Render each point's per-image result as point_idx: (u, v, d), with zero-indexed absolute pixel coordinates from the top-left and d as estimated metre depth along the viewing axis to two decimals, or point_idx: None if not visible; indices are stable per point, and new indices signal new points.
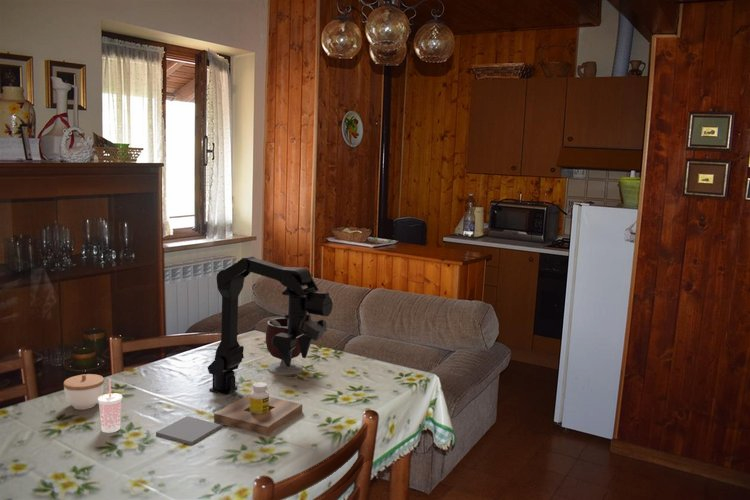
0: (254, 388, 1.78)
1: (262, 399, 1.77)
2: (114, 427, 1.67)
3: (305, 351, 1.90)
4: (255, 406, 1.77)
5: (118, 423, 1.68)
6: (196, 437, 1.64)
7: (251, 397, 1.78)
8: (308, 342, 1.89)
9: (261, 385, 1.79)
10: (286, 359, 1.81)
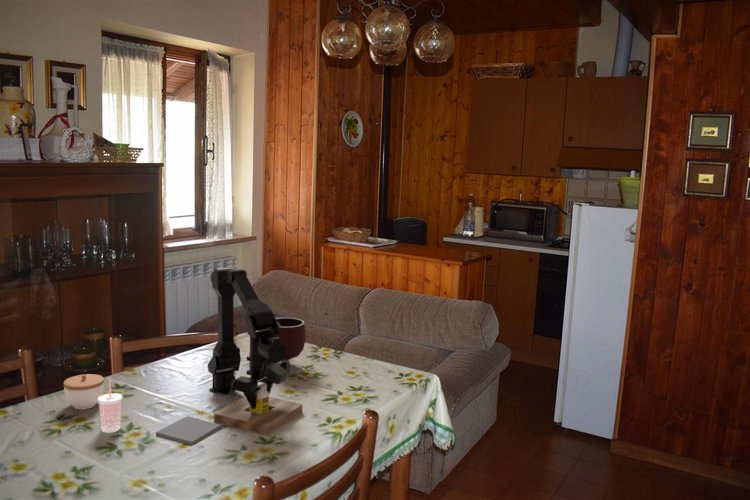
0: None
1: (262, 399, 1.77)
2: (114, 427, 1.67)
3: None
4: None
5: (118, 423, 1.68)
6: (196, 437, 1.64)
7: None
8: (269, 386, 1.82)
9: (261, 385, 1.79)
10: (251, 401, 1.76)
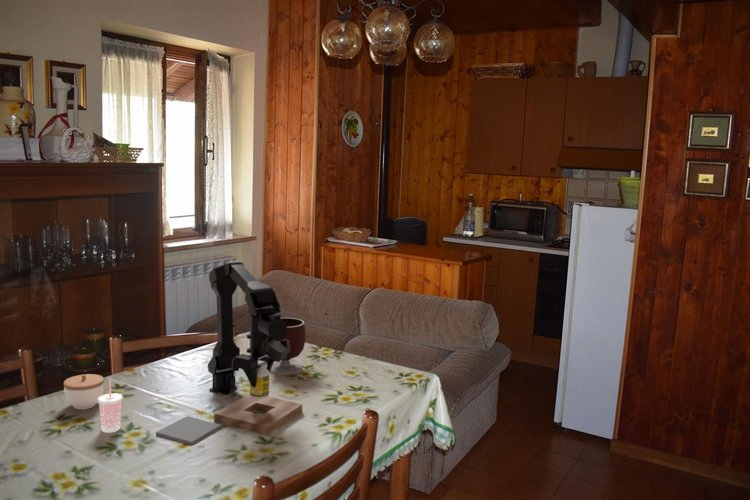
0: None
1: (263, 377, 1.76)
2: (114, 427, 1.67)
3: None
4: None
5: (118, 423, 1.68)
6: (196, 437, 1.64)
7: None
8: (269, 364, 1.81)
9: (261, 363, 1.78)
10: (251, 379, 1.75)
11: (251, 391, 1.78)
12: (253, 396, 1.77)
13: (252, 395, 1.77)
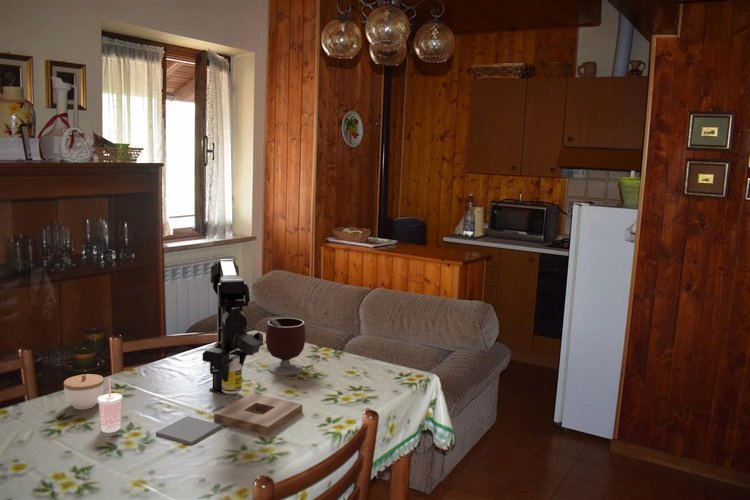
0: None
1: (235, 371, 1.71)
2: (114, 427, 1.67)
3: None
4: None
5: (118, 423, 1.68)
6: (196, 437, 1.64)
7: None
8: (242, 358, 1.76)
9: (233, 357, 1.73)
10: (223, 374, 1.70)
11: (223, 386, 1.73)
12: (225, 391, 1.72)
13: (224, 390, 1.72)
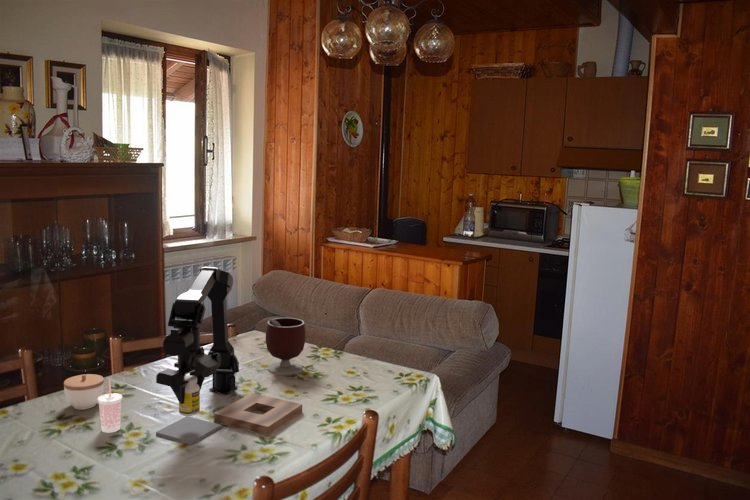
0: None
1: (191, 393, 1.66)
2: (114, 427, 1.67)
3: None
4: None
5: (118, 423, 1.68)
6: (196, 437, 1.64)
7: None
8: (200, 379, 1.70)
9: (190, 378, 1.67)
10: (179, 396, 1.65)
11: (179, 408, 1.67)
12: (182, 413, 1.67)
13: (181, 412, 1.67)
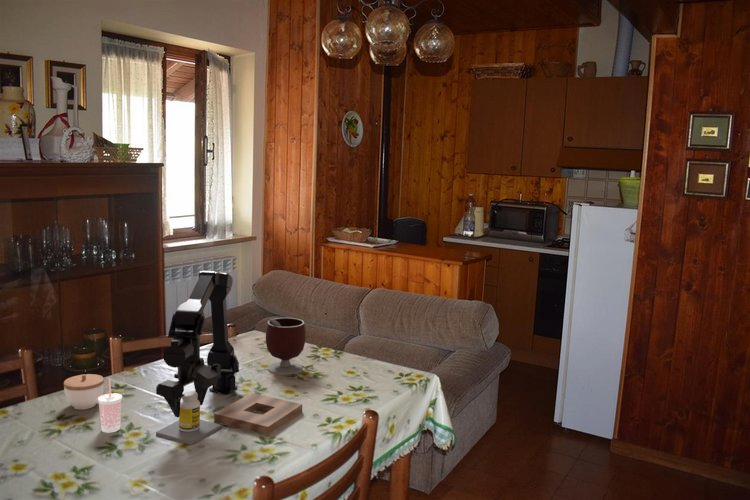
0: (183, 397, 1.67)
1: (192, 409, 1.66)
2: (114, 427, 1.67)
3: (201, 398, 1.72)
4: (184, 417, 1.66)
5: (118, 423, 1.68)
6: (196, 437, 1.64)
7: None
8: (204, 388, 1.72)
9: (191, 394, 1.68)
10: (174, 409, 1.63)
11: (179, 424, 1.68)
12: (182, 429, 1.67)
13: (181, 428, 1.67)
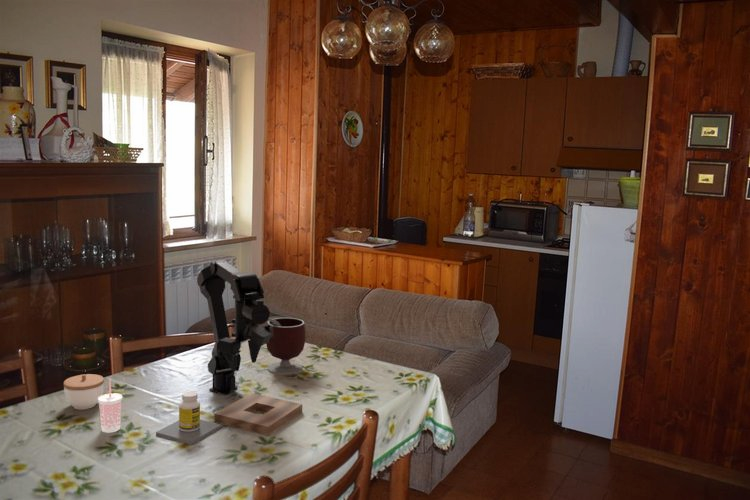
0: (183, 397, 1.67)
1: (192, 409, 1.66)
2: (114, 427, 1.67)
3: (254, 356, 1.90)
4: (184, 417, 1.66)
5: (118, 423, 1.68)
6: (196, 437, 1.64)
7: (179, 407, 1.67)
8: (257, 347, 1.90)
9: (191, 394, 1.68)
10: (231, 364, 1.82)
11: (179, 424, 1.68)
12: (182, 429, 1.67)
13: (181, 428, 1.67)
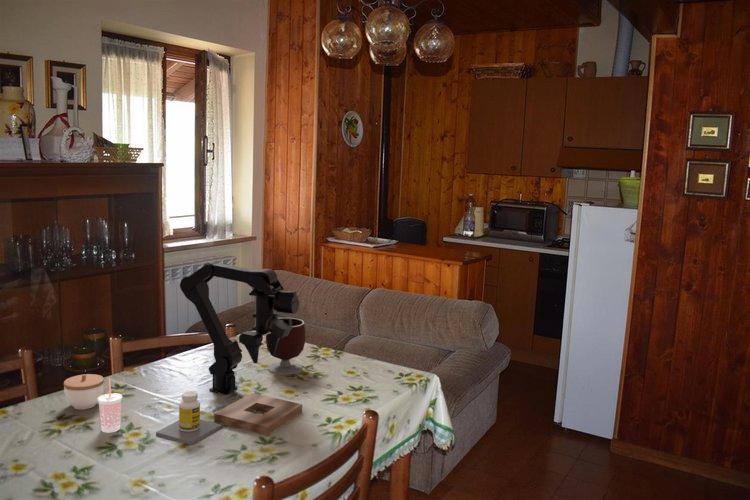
0: (183, 397, 1.67)
1: (192, 409, 1.66)
2: (114, 427, 1.67)
3: (273, 349, 1.98)
4: (184, 417, 1.66)
5: (118, 423, 1.68)
6: (196, 437, 1.64)
7: (179, 407, 1.67)
8: (276, 340, 1.98)
9: (191, 394, 1.68)
10: (253, 356, 1.89)
11: (179, 424, 1.68)
12: (182, 429, 1.67)
13: (181, 428, 1.67)
